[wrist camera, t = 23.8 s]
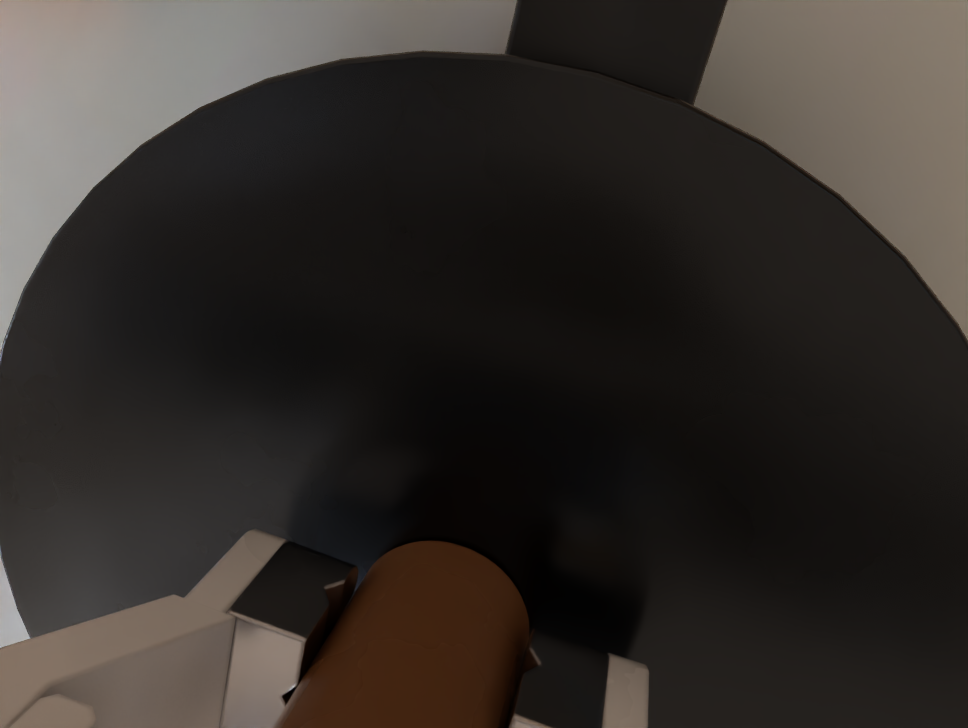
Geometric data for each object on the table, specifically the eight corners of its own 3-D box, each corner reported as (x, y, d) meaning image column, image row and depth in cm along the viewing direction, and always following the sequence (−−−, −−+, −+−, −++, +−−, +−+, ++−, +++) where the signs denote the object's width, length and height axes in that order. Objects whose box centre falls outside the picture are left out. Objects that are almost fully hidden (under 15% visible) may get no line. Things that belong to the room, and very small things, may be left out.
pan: (170, 676, 20) (40, 832, 16) (264, -182, 13) (73, -308, 9) (687, 870, 18) (693, 1099, 14) (1115, 16, 11) (1376, -21, 7)
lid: (34, 739, 15) (-213, 995, 11) (59, -72, 10) (-402, -191, 6) (759, 1029, 14) (803, 1462, 9) (1255, 244, 8) (1884, 414, 4)
